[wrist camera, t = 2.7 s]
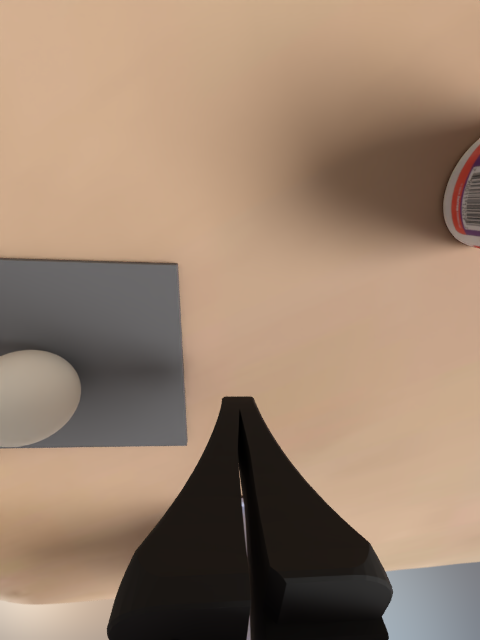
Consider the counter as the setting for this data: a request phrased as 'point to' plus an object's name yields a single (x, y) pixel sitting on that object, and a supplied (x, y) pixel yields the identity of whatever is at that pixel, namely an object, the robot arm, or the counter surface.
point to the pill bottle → (464, 198)
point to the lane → (103, 344)
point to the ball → (35, 396)
